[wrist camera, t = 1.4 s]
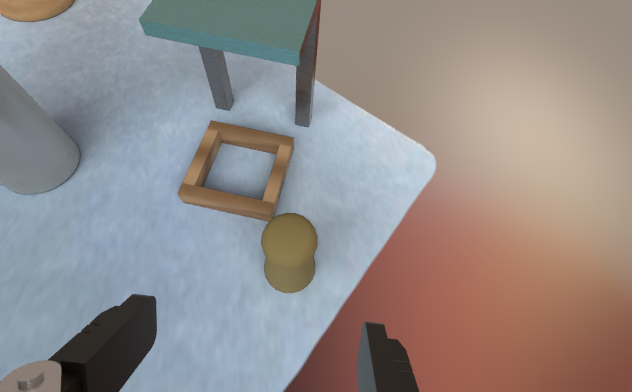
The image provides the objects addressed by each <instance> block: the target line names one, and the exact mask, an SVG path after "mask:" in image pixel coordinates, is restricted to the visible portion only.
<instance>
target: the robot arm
mask: <svg viewBox="0 0 632 392" xmlns="http://www.w3.org/2000/svg"><path fill="white" fill-rule="evenodd" d="M79 159H80V151H79V148H78V146H77V145H76V143H75V142H74V141H73V140H72V139H71V138H70V137H69V136H68V135H67V134H66V133H65V132H64V131H63V130H62V129H61V128H60V127H59V125H58V124H57V123H56V122H55V121H54V120H53V119H52V118H51V117H50V116H49V115H48V114H47V113H46V112H45V111H44V110H43V109H42V108H41V107H40V106H39V105H38V103H37V102H36V101H35V100H34V99H33V98H32V97H31V96H30V95H29V94H28V93H27V92H26V91H25V90H24V89H23V88H22V87H21V86H20V85H19V84H18V83H17V82H16V81H15V80H14V79H13V78H12V77H11V76H10V74H9V73H8V72H7V71H6V70H5V69H4V68H3V67H2V66H1V65H0V184H1V185H3V186H5V187H6V188H8V189H9V190H11V191H13V192H16V193H20V194H38V193H43V192H46V191H49V190H51V189H53V188H55V187H57V186H59V185H60V184H62V183H63V182H65V181H66V180H67V179H68V178H69V177H70V176H71V175H72V174H73V172H74V171H75V170H76V168H77V166H78V163H79ZM156 334H157V317H156V299H155V297H154V296H147V295H138V294H133V295H131V296H130V297H129V298H128V299H127V300H126V301H125V302H123V303H122V304H121V305H120V306H114V307H112V308H110V309H108V310H106V311H104V312H102V313H101V314H100V315H98V316H97V317H96V318H95V319H94V320H93V321H92V322H90V325H87V326H86V327H85V328H84V329H82V330H81V333H78V334H77V335H76V336H75V337H73V338H72V339H71V340H70V341H69V342H68V343H67V344H65V345H64V346H63V347H62V348H61V349H60V350H59V351H58V352H56V353H55V354H54V355H53V356H52V357H51V358H50V359H48V360H46V361H37V362H33V363H30V364H27V365H24V366H22V367H20V368H18V369H16V370H14V371H12V372H11V373H10V374H8V375H7V376H6V377H5V378H4V379H3V380H2V381H0V392H119V391H120V389H121V388H122V387H123V385H124V384H125V383H126V381H127V380H128V379H129V377H130V376H131V375H132V373H133V372H134V371H135V369H136V368H137V367H138V365H139V364H140V363H141V361H142V360H143V359H144V357H145V356H146V355H147V353H148V352H149V351H150V349H151V348H152V346H153V344H154V342H155V339H156ZM357 377H358V387H359V392H419V390H418V387H417V383H416V380H415V377H414V374H413V371H412V367H411V364H410V361H409V358H408V355H407V352H406V349H405V348H404V347H403V346H402V345H401V343H400V342H399V341H398V340H396V339H388V338H387V334H386V331H385V326H384V324H380V323H372V322H364V323H363V327H362V333H361V339H360V345H359V351H358V359H357Z"/></svg>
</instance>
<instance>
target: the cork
mask: <svg viewBox="0 0 632 392" xmlns="http://www.w3.org/2000/svg"><path fill="white" fill-rule="evenodd" d="M261 244H262V248H263V252H264V254H265V256H266V259H265V265H264V272H265V276H266V279H267V280H268V282H269V284H270V285H271V286H272V287H274V288H275V289H276V290H278V291H281V292H283V293H294V292H298V291H301V290H302V289H304V288H305V287H307V286H308V285H309V283H310V282H311V281H312V279H313V276H314V274H315V261H314V257H313V255H314V253H315V251H316V248H317V234H316V230H315V228H314V226H313V225H312V224H311V222H310V221H309V220H308V219H306V218H305V217H304V216H301V215H299V214H296V213H285V214H281V215H278V216H276V217H275V218H273V219H272V220H271V221H270V222H269V223H268V224H267V225H266V227H265V229H264V231H263V233H262V240H261Z"/></svg>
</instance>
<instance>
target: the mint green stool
mask: <svg viewBox="0 0 632 392" xmlns="http://www.w3.org/2000/svg"><path fill="white" fill-rule="evenodd" d="M320 9H321V0H152V2H151V3H150V5H149V6H148V7H147V9H146V10H145V12H144V13H143V14H142V16H141V17H140V18H139V21H140V23H141V25H142V28H143V30H144V32H145V35H148V36H153V37H158V38H163V39H168V40H173V41H178V42H182V43H187V44H192V45H197V46H199V49H200V52H201V56H202V59H203V63H204V66H205V70H206V73H207V77H208V80H209V84H210V87H211V91H212V94H213V98H214V101H215V105H216V108H219V109H223V110H228V111H230V108H231V106H232V104H233V102H234V100H233V95H232V90H231V86H230V81H229V76H228V72H227V67H226V62H225V57H224V53H223V51H227V52H232V53H237V54H241V55H246V56H251V57H256V58H261V59H266V60H271V61H276V62H281V63H286V64H291V65H296V66H297V67H296V117H295V125H300V126H305V127H309V124H310V121H311V117H312V105H313V93H314V81H315V69H316V56H317V45H318V33H319V22H320Z"/></svg>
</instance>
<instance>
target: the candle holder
mask: <svg viewBox="0 0 632 392" xmlns="http://www.w3.org/2000/svg"><path fill="white" fill-rule="evenodd" d="M73 1H74V0H0V14H2V15H3V16H4V17H6V18H9V19H11V20H15V21H23V22H31V21H40V20H44V19H48V18H51V17H53V16H56V15H58V14H60V13H62V12H63V11H65V10H66V9H67V8H68V7H69V6H70V5H71V4H72V3H73Z"/></svg>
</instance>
